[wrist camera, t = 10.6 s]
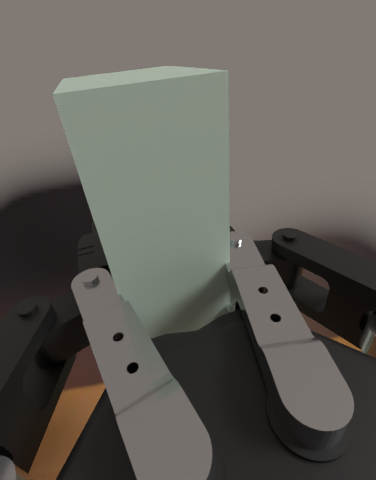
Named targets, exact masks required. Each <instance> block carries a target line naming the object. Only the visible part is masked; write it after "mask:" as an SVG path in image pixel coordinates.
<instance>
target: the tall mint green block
mask: <svg viewBox="0 0 376 480" xmlns="http://www.w3.org/2000/svg"><path fill="white" fill-rule="evenodd" d="M53 97H54V101H55V103H56V107H57V109H58V113H59V116H60V119H61V122H62V125H63V128H64V131H65V134H66V137H67V140H68V143H69V146H70V149H71V152H72V155H73V159H74V161H75V165H76V168H77V171H78V174H79V177H80V180H81V183H82V186H83V189H84V192H85V195H86V198H87V201H88V204H89V207H90V210H91V213H92V217H93V220H94V223H95V226H96V229H97V232H98V235H99V238H100V241H101V244H102V247H103V250H104V253H105V256H106V259H107V262H108V265H109V268H110V271H111V275H112V278H113V281H114V284H115V287H116V290H117V293H118V295H120V294H121V295H122V296H123V298H124V300H125V301H126V300H128V301H129V303H130V304H131V306H132V308H133V310H134V311H135V313H136V315H137V316H138V318H139V320H140V322H141V323H142V325H143V327H144V328H145V330H146V332H147V334H148V335H149V337H150V339H152V338H155V337H158V336H161V335H164V334H169V333H179V332H188V331H196V330H198V329H200V328H202V327H204V326H205V325H207V324H208V323H210V322H212V321H213V320H215V319H216V318H218V317H220V316H221V315H224V314H226V305H229V304H230V289H229V283H228V280H227V277H226V263H229V262H230V210H229V209H230V204H229V203H230V201H229V199H230V198H229V197H230V196H229V71H228V70H215V69H203V68H202V69H201V68H189V67H176V66H163V67H155V68H147V69H138V70H130V71H122V72H114V73H106V74H98V75H90V76H82V77H74V78H66V79H63V80H62V81H61V83H60V84H59V85H58V87H57V88H56V90H55V91H54V93H53Z"/></svg>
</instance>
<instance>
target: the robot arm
mask: <svg viewBox="0 0 376 480" xmlns="http://www.w3.org/2000/svg"><path fill="white" fill-rule="evenodd" d="M92 231H93V233H91V234H86V235H83V236H82V237H81V239H80V241H79V242H78V275H77V276H76V277H75V278H74V279H73V281H72V284H71V287H72V289H71V290H70V291H69V292H67V293H66V294H64V295H62V296H60V297H58V298H56V299H55V300H53V301H51V302H50V300H49V299H48V298H47V297H45V296H33V297H29V298H27V299H24V300H22V301H20V302H19V303H18V304H16V305H15V306H14V307H13V308H12V309H11V310H10V311H9V312H8V313H7V315H6V316H5V318H4V319H3V320H2V322H1V323H0V480H32V478H31V477H30V475H28V473H29V470H30V468H31V465H32V463H33V460H34V458H35V456H36V453H37V451H38V448H39V446H40V443H41V441H42V439H43V436H44V434H45V431H46V429H47V426H48V424H49V422H50V419H51V417H52V414H53V412H54V409H55V407H56V405H57V402H58V400H59V397H60V395H61V392H62V390H63V388H64V385H65V383H66V380H67V378H68V375H69V373H70V371H71V368H72V366H73V363H74V361H75V358H76V353H77V352H79V351H80V350H82V349H84V348H85V347H87V346H89V345H91V347H92V350H93V353H94V356H95V359H96V362H97V364H98V367H99V370H100V373H101V376H102V378H103V381H104V384H105V387H106V388H105V390H104V392H103V394H102V396H101V398H100V399H99V401H98V403H97V405H96V407H95V409H94V410H93V412H92V414H91V416H90V418H89V420H88V422H87V423H86V425H85V427H84V429H83V431H82V433H81V434H80V436H79V438H78V440H77V442H76V444H75V445H74V447H73V449H72V451H71V453H70V455H69V456H68V458H67V460H66V462H65V464H64V466H63V468H62V469H61V471H60V473H59V475H58V477H57V479H56V480H376V262H375V261H372V260H370V259H368V258H365V257H363V256H360V255H358V254H356V253H353V252H351V251H348V250H346V249H343V248H341V247H339V246H336V245H334V244H331V243H329V242H326V241H324V240H322V239H319V238H317V237H314V236H311V235H309V234H307V233H304V232H302V231H299V230H297V229H292V228H285V229H279V230H277V231H275V232H274V233H273V235H272V240H265V241H253V240H252V238H251V237H250V236H249V235H248V234H246V233H243V232H238V231H235V230H234V229H233V228H232V227H231V226H230V262H229V263H226V277H227V280H228V283H229V289H230V304H229V305H226V314H224V315H221V316H220V317H218V318H216V319H215V320H213V321H212V322H210V323H208V324H207V325H205V326H204V327H202V328H200V329H198V330H196V331H188V332H179V333H169V334H164V335H161V336H158V337H155V338H152V339H150V337H149V335H148V334H147V332H146V330H145V328H144V327H143V325H142V323H141V322H140V320H139V318H138V316H137V315H136V313H135V311H134V310H133V308H132V306H131V304H130V303H129V301H128V300H126V301H125V300H124V298H123V296H122V295H121V294H120V295H118V293H117V290H116V287H115V284H114V281H113V278H112V275H111V271H110V268H109V265H108V262H107V259H106V256H105V253H104V250H103V247H102V244H101V241H100V238H99V235H98V232H97V229H96V226H95V223H94V222H92ZM303 268H305V269H307V270H309V271H310V272H313V273H314V274H316V275H318V276H320V277H322V278H324V279H325V280H326V281H327V282H328V284H329V287H330V290H327V289H325V288H324V287H322V286H320V285H318V284H316V283H314V282H312V281H310V280H309V279H307V278H305V277H303V276H302V272H303ZM300 311H301V312H302V313H304V314H305V315H307V316H308V317H310V318H312V319H313V320H315V321H317V322H318V323H320V324H321V325H323V326H324V327H326V328H328V329H329V330H331V331H333V332H334V333H336V334H337V335H339V336H340V337H342V338H344V339H345V340H347V341H348V342H350V343H352V344H353V345H355V346H356V347H358V348H359V349H361V351H362V352H363V353H362V352H360V351H358V350H355V349H353V348H351V347H348V346H346V345H344V344H341V343H339V342H337V341H334V340H332V339H330V338H327V337H325V336H322V335H320V334H317V333H315V332H313V331H311V330H310V329H309V328H308V326H307V324H306V322H305V321H304V319H303V317H302V315H301V313H300Z"/></svg>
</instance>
